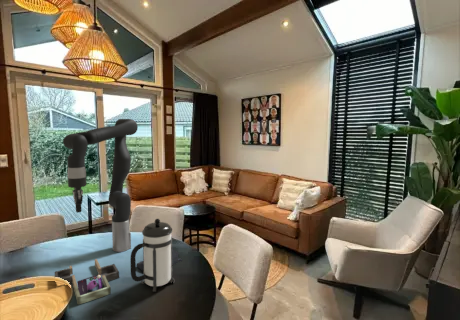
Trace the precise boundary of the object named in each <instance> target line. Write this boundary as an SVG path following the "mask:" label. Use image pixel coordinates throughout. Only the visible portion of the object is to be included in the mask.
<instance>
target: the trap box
mask: <svg viewBox="0 0 460 320" xmlns="http://www.w3.org/2000/svg"><path fill="white" fill-rule="evenodd" d="M94 266H95V269H96V271H97V273H98V274H101V277H102V285H103V286H104V287H103V288H100V289H99V288H98V289H99V290H98V289H96V290H93V291H90V292H88V293H87V294H84V295H80V293H79V290H78V283H77V279H76V276H75V274H73V271H74V270H73V265H69V267H67V268H64V269H59V270H55V271H54V278H55V277H60V278H62V279H64V280H67V281H68V282H70V284H72V286H73V292H74V295H75V298H76V303H77V305H81V304H85V303H87V302H91V301H93V300H96V299H99V298H102V297H106V296H109V295H111V294H112V292H111V291H112V289H111V285H110V283H109V282H110V281H113V280H116V279H119V278H120V271H119V270H118V268H117V266H116V264H115V263H113V264H109V265H105V266H101V265H100V263H99V261H98V259H97V258H95V259H94Z"/></svg>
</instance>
